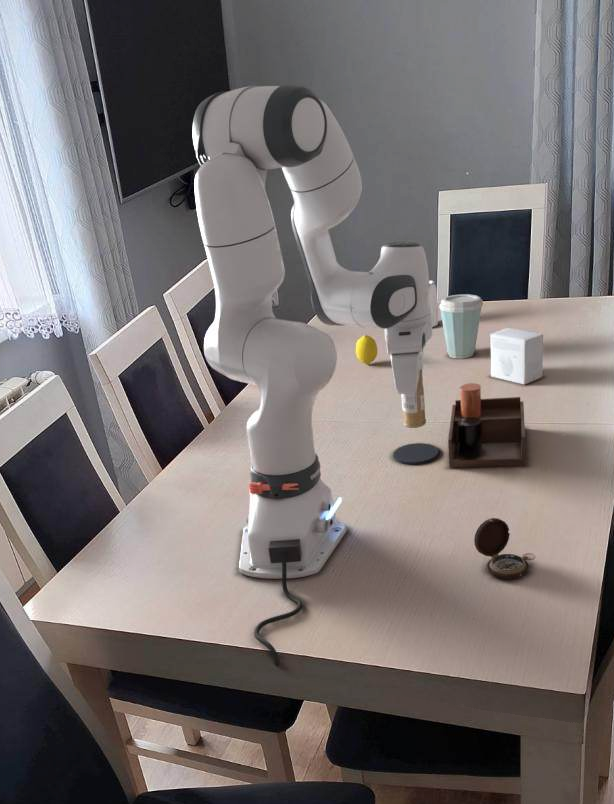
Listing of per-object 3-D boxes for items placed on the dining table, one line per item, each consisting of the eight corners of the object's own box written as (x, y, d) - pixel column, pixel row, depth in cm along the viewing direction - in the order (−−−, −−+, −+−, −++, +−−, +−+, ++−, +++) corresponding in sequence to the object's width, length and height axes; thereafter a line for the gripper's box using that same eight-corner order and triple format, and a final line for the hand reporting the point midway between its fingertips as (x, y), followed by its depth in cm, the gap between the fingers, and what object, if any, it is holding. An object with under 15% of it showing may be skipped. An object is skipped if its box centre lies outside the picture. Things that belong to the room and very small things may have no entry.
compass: (504, 585, 132) (503, 544, 129) (473, 563, 139) (471, 523, 135) (547, 568, 135) (548, 527, 131) (514, 547, 141) (514, 507, 138)
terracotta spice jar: (481, 418, 175) (480, 390, 172) (460, 419, 176) (459, 391, 173) (481, 410, 178) (480, 382, 175) (461, 411, 179) (460, 383, 177)
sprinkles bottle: (431, 423, 173) (427, 358, 166) (413, 430, 171) (409, 365, 164) (415, 417, 176) (411, 354, 170) (398, 425, 174) (393, 361, 168)
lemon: (382, 361, 228) (379, 331, 224) (372, 369, 224) (370, 338, 220) (363, 360, 231) (360, 331, 227) (353, 367, 227) (350, 338, 223)
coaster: (437, 463, 172) (436, 461, 171) (391, 465, 174) (390, 462, 174) (439, 444, 179) (439, 442, 179) (395, 446, 182) (395, 444, 181)
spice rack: (525, 465, 165) (525, 431, 162) (449, 468, 169) (448, 435, 166) (523, 428, 180) (523, 396, 176) (453, 431, 184) (452, 400, 180)
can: (415, 330, 247) (412, 287, 241) (415, 323, 252) (412, 281, 246) (438, 327, 245) (436, 285, 239) (438, 321, 251) (436, 279, 245)
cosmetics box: (543, 376, 202) (544, 332, 197) (524, 385, 199) (524, 341, 194) (508, 368, 210) (508, 325, 205) (489, 376, 207) (489, 333, 202)
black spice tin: (481, 458, 171) (481, 425, 167) (458, 459, 172) (457, 426, 168) (482, 448, 174) (481, 416, 171) (459, 449, 175) (458, 417, 172)
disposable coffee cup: (451, 346, 230) (449, 289, 222) (490, 349, 224) (490, 290, 216) (434, 360, 223) (431, 302, 215) (473, 363, 217) (472, 303, 209)
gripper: (396, 314, 173) (401, 379, 180) (385, 348, 157) (391, 419, 163) (428, 311, 171) (432, 377, 178) (420, 346, 155) (425, 417, 162)
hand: (412, 398), depth 171 cm, fingers closed on sprinkles bottle, 4 cm apart
